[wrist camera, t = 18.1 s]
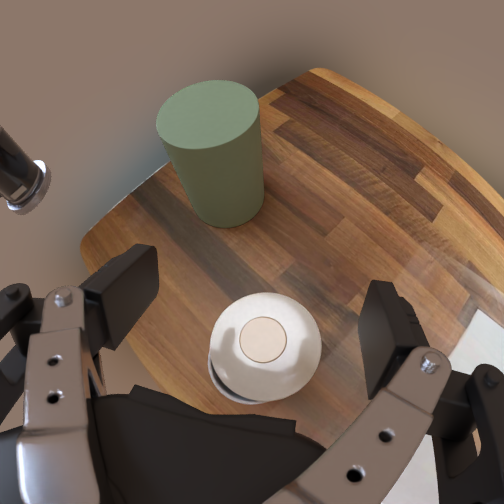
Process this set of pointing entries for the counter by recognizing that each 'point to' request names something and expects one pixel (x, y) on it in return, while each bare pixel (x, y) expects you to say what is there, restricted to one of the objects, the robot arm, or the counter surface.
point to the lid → (265, 346)
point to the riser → (216, 149)
